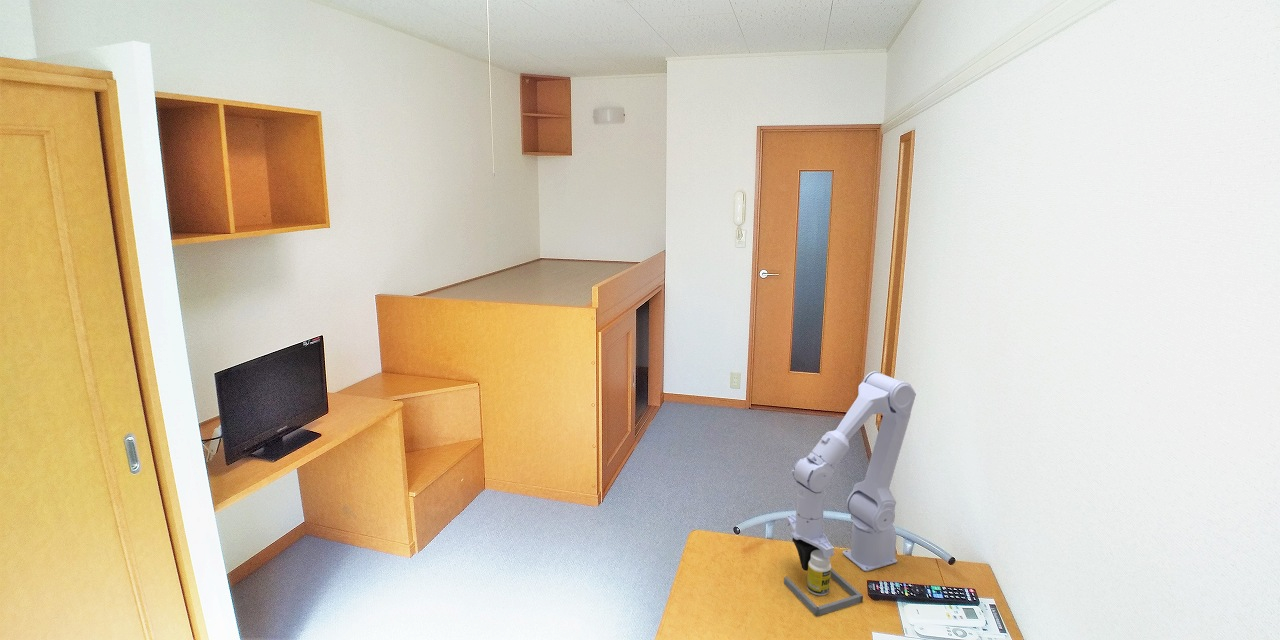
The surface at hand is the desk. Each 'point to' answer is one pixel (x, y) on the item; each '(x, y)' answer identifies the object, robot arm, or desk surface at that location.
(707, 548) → the desk surface
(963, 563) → the desk surface
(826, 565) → the supplement bottle
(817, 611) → the corral
